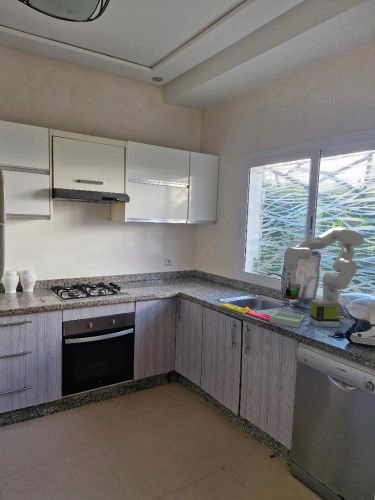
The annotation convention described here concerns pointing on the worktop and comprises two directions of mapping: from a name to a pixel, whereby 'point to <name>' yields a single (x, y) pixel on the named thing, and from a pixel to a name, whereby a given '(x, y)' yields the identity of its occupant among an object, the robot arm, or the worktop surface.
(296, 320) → the sorting tray
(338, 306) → the tea box
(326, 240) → the robot arm
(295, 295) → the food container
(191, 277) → the worktop surface
